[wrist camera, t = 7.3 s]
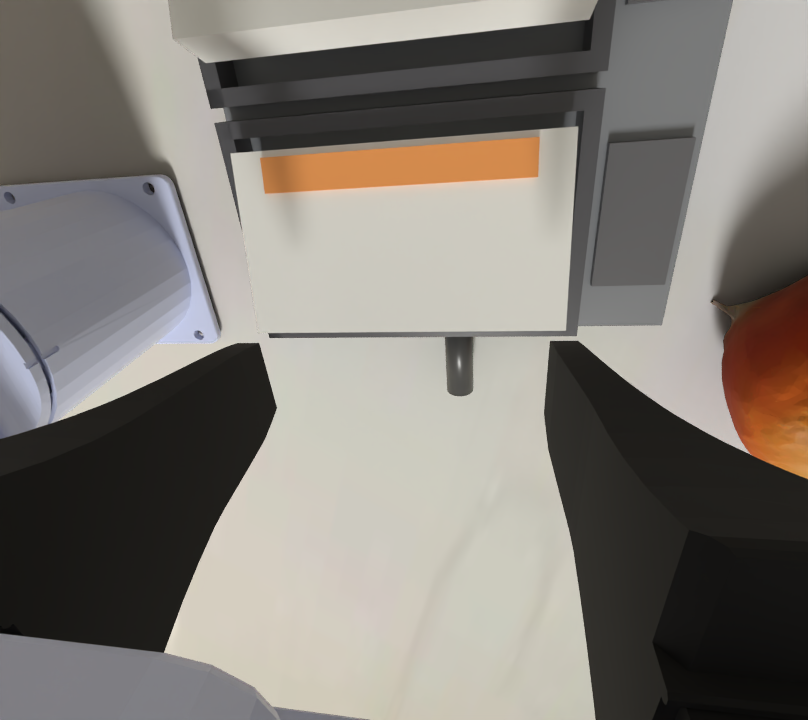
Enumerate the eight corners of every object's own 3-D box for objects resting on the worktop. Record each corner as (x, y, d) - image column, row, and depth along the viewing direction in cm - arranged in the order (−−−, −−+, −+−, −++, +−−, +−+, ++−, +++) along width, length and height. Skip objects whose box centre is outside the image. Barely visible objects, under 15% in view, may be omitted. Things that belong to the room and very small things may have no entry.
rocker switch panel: (316, 371, 24) (287, 422, 20) (86, -728, 10) (-134, -1180, 6) (623, 373, 22) (651, 431, 18) (890, -1085, 8) (1261, -2144, 4)
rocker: (275, 323, 17) (255, 334, 16) (252, 157, 15) (227, 152, 14) (559, 319, 15) (566, 332, 14) (569, 133, 14) (579, 125, 12)
